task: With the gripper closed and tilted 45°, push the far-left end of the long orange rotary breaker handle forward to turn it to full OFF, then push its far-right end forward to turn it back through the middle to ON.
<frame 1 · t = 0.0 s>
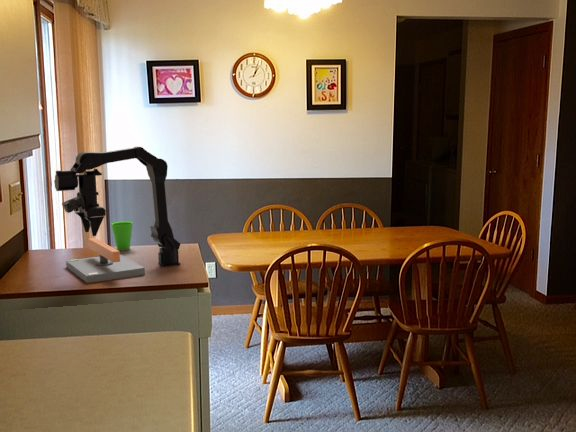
hand: (90, 234, 212), 15 cm above the table, tool pointing down, fingers open, 9 cm apart
cup: (123, 249, 258), on the table
breaker handle: (103, 254, 220), point 6 cm above the table, hinge at 0.0°, touching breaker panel
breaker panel: (104, 270, 221), on the table
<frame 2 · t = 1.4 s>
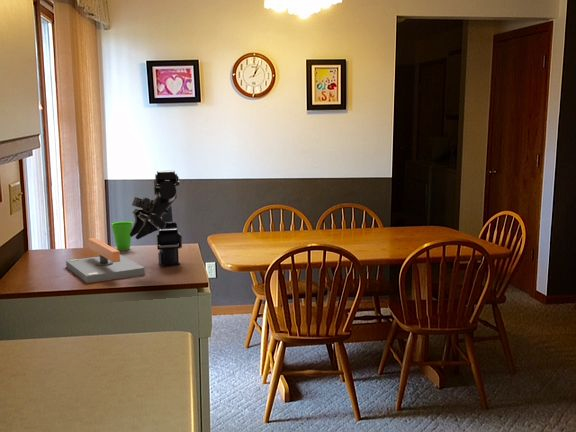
hand: (133, 237, 214), 13 cm above the table, tool tilted 45°, fingers open, 6 cm apart
nothing on the table moved.
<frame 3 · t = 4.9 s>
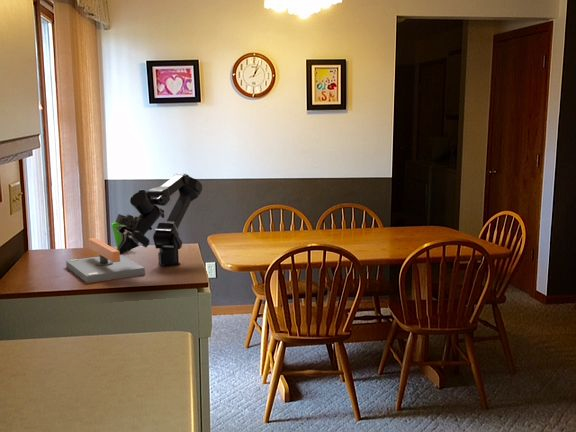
hand: (116, 254, 211), 8 cm above the table, tool tilted 45°, fingers closed, pressing on breaker handle
breaker handle: (103, 254, 220), point 6 cm above the table, hinge at 0.0°, touching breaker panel, gripper
everything else where it was.
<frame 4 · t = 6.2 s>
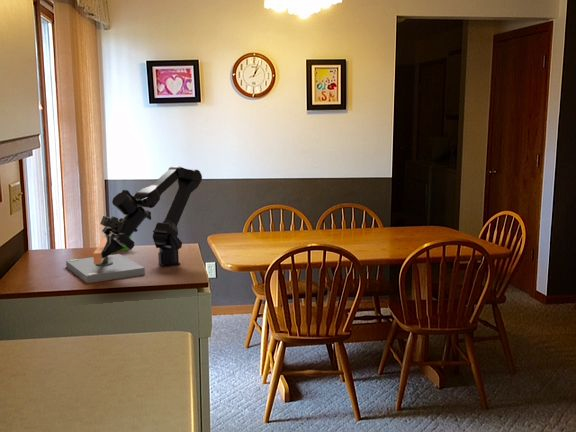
hand: (101, 257, 209), 7 cm above the table, tool tilted 45°, fingers closed, pressing on breaker handle
breaker handle: (103, 254, 220), point 6 cm above the table, hinge at -23.9°, touching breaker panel, gripper
everything else where it was.
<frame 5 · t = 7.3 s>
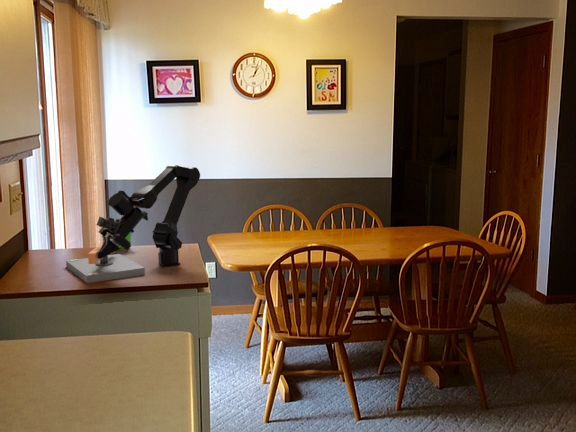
hand: (98, 258, 208), 7 cm above the table, tool tilted 45°, fingers closed, pressing on breaker handle
breaker handle: (103, 254, 220), point 6 cm above the table, hinge at -30.5°, touching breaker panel, gripper
everything else where it was.
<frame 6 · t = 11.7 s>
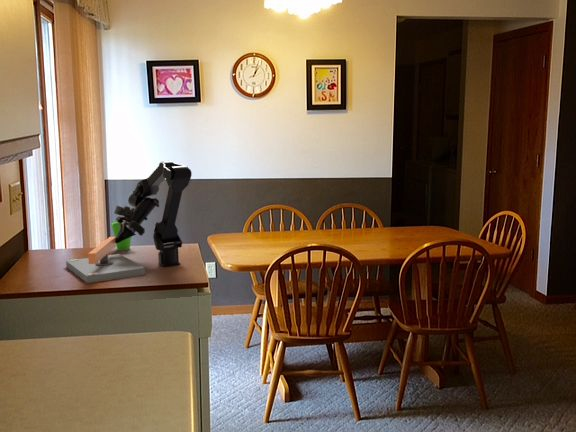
hand: (115, 242, 233), 8 cm above the table, tool tilted 45°, fingers closed, pressing on breaker handle
breaker handle: (103, 254, 220), point 6 cm above the table, hinge at -30.4°, touching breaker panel, gripper
everything else where it was.
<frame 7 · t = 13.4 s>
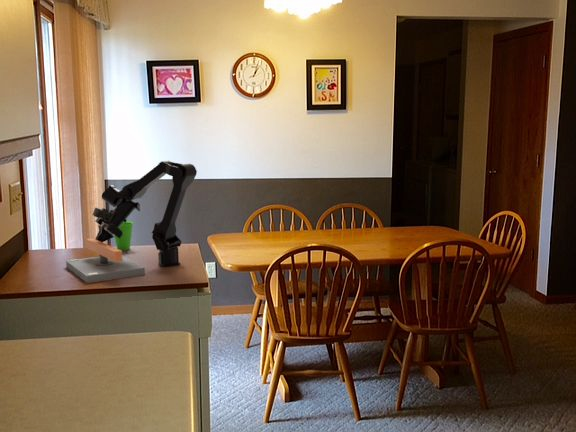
hand: (94, 245, 230), 7 cm above the table, tool tilted 45°, fingers closed, pressing on breaker handle
breaker handle: (103, 254, 220), point 6 cm above the table, hinge at 3.2°, touching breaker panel, gripper
everything else where it was.
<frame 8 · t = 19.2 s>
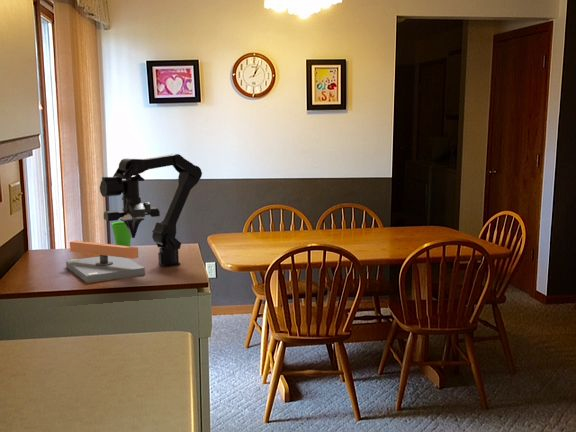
hand: (133, 237, 219), 12 cm above the table, tool pointing down, fingers closed
breaker handle: (103, 254, 220), point 6 cm above the table, hinge at 30.3°, touching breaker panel
everything else where it was.
at the end: breaker handle at +30° (first picture: +0°); cup moved 0.2 cm from its start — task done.
